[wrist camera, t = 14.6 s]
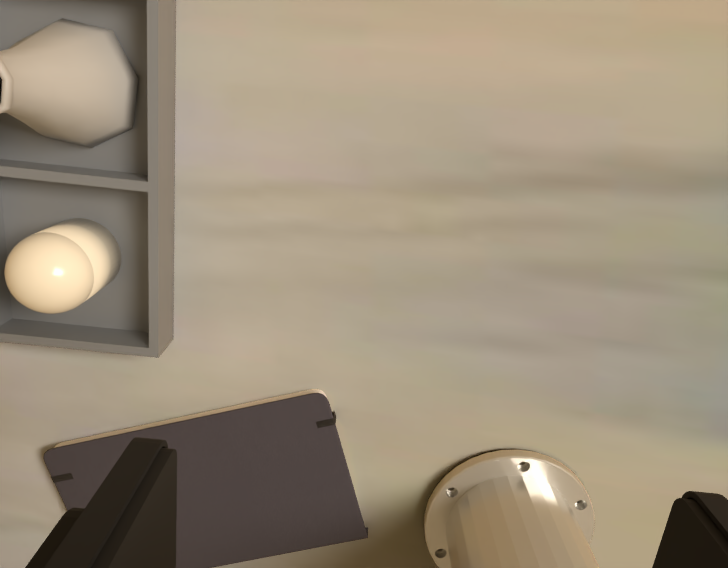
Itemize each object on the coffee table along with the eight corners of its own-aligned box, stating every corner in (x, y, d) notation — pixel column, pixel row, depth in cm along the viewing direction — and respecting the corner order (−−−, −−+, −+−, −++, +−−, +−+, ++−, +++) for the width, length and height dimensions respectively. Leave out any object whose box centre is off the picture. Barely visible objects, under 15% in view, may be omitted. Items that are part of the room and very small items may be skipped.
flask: (152, 141, 36) (74, 159, 26) (36, 152, 36) (-83, 174, 27) (126, 12, 34) (31, -19, 24) (3, 25, 34) (-140, -1, 24)
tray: (173, 339, 41) (158, 357, 38) (8, 322, 40) (-19, 339, 37) (175, -9, 34) (158, -19, 31) (-22, -32, 34) (-58, -44, 31)
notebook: (111, 572, 48) (368, 523, 46) (103, 588, 46) (368, 538, 44) (50, 439, 44) (327, 380, 42) (38, 452, 42) (325, 391, 41)
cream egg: (122, 293, 39) (76, 330, 33) (48, 285, 39) (-11, 321, 33) (120, 222, 37) (72, 247, 31) (44, 214, 37) (-19, 237, 31)
